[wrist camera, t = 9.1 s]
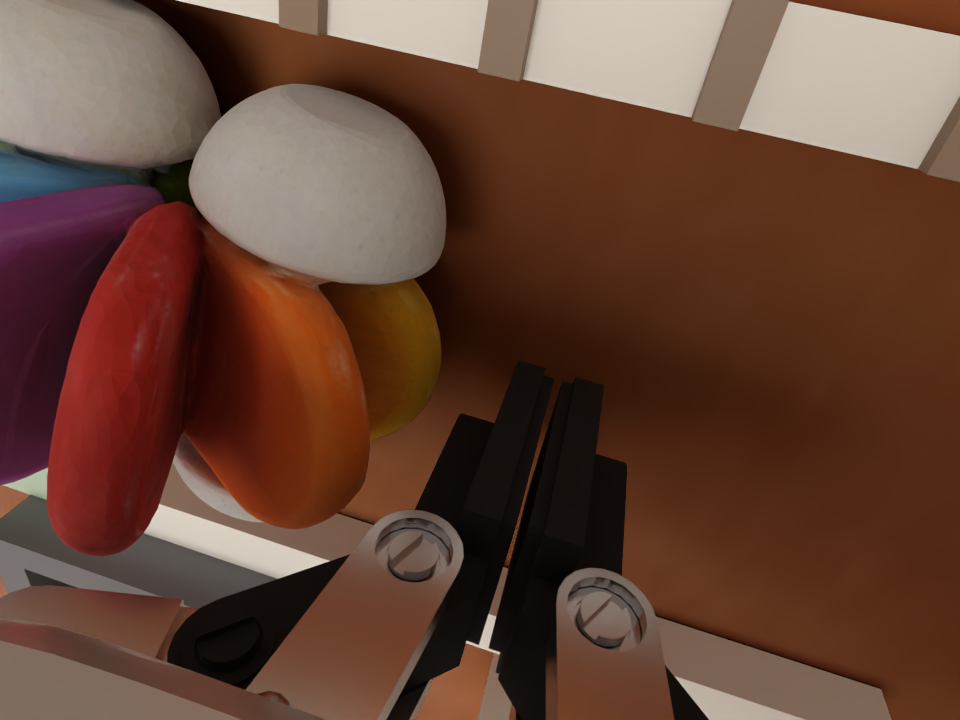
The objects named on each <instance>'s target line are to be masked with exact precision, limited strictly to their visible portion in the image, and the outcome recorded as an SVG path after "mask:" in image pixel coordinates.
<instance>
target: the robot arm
mask: <svg viewBox="0 0 960 720" xmlns="http://www.w3.org/2000/svg"><path fill="white" fill-rule="evenodd" d="M544 371H545V368H543V367H540V366H536V365H533V364H529V363H526V362H522V361H518V362H517V365H516V368H515V370H514V373H513V376H512V378H511V381H510V384H509V386H508V389H507V392H506V395H505V397H504V400H503V403H502V405H501V408H500V411H499V413H498V416H497V419H496V421H495V423H492V422H488V421H485V420H482V419H478V418H475V417H472V416H468V415H465V414H462V413H461V414H460V415H459V417H458V419H457V421H456V423H455V425H454V427H453V429H452V431H451V434H450V436H449V438H448V440H447V442H446V444H445V446H444V448H443V451H442V453H441V455H440V457H439V459H438V461H437V463H436V466H435V468H434V470H433V472H432V474H431V476H430V478H429V481H428V483H427V485H426V487H425V489H424V491H423V493H422V496H421V498H420V500H419V502H418V504H417V506H416V508H415V510H404V511H398V512H393V513H391V514H389V515H387V516H385V517H383V518H381V519H380V520H379V521H378V522H377V523H376V524H375V525H374V526H372V527H371V529H370V530H369V531H368V533H367V534H366V535H365V536H364V538H363V539H362V540H361V542H360V543H359V544H358V545H357V547H356V548H355V549H354V551H353V552H352V553H351V554H349V555H346V556H343V557H340V558H337V559H335V560H332V561H329V562H326V563H323V564H320V565H317V566H314V567H311V568H308V569H305V570H302V571H299V572H296V573H293V574H290V575H288V576H285V577H282V578H279V579H276V580H273V581H270V582H267V583H264V584H261V585H258V586H255V587H252V588H249V589H246V590H243V591H241V592H238V593H235V594H232V595H229V596H226V597H223V598H220V599H217V600H215V601H213V602H211V603H209V604H207V605H205V606H203V607H201V608H194V607H185V606H184V603H183V599H175V598H166V597H157V596H147V595H138V594H129V593H119V592H110V591H101V590H91V589H82V588H72V587H63V586H54V585H45V586H30V587H27V588H24V589H21V590H18V591H14V592H11V593H9V594H7V595H5V596H4V597H2V598H0V720H414V719H415V717H416V715H417V713H418V711H419V709H420V707H421V705H422V703H423V701H424V699H425V697H426V695H427V693H428V691H429V689H430V687H431V683H432V680H433V678H435V677H437V676H439V675H441V674H443V673H445V672H447V671H449V670H451V669H453V668H455V667H457V666H459V664H460V661H461V657H462V654H463V650H464V647H465V644H466V641H469V642H472V643H474V644H477V645H479V643H480V640H481V637H482V633H483V630H484V627H485V624H486V621H487V617H488V614H489V611H490V608H491V605H492V601H493V598H494V595H495V592H496V589H497V585H498V582H499V579H500V576H501V573H502V569H503V566H504V563H505V560H506V557H507V553H508V550H509V547H510V544H511V541H512V537H513V534H514V531H515V527H516V524H517V520H518V517H519V513H520V509H521V505H522V501H523V497H524V494H525V490H526V486H527V482H528V478H529V474H530V470H531V467H532V463H533V459H534V455H535V451H536V447H537V443H538V439H539V436H540V432H541V428H542V424H543V420H544V416H545V412H546V409H547V405H548V401H549V397H550V393H551V389H552V385H553V382H554V378H551V377H547V376H544ZM603 389H604V385H602V384H599V383H595V382H592V381H588V380H585V379H581V378H578V377H575V380H574V382H573V384H571V383H568V382H564V381H563V382H562V384H561V388H560V391H559V394H558V397H557V400H556V403H555V407H554V410H553V413H552V416H551V419H550V423H549V426H548V429H547V432H546V435H545V438H544V442H543V445H542V448H541V451H540V454H539V458H538V461H537V464H536V467H535V470H534V473H533V477H532V480H531V483H530V487H529V490H528V494H527V497H526V501H525V505H524V509H523V513H522V517H521V521H520V525H519V529H518V533H517V537H516V541H515V545H514V549H513V553H512V557H511V561H510V565H509V568H508V572H507V576H506V580H505V584H504V588H503V592H502V596H501V600H500V604H499V608H498V612H497V616H496V620H495V624H494V628H493V632H492V636H491V640H490V644H489V649H492V650H495V651H498V652H500V655H499V659H498V664H497V668H496V672H495V673H498V674H499V676H498V680H499V682H500V684H501V686H502V687H503V689H504V691H505V693H506V694H507V696H508V698H509V700H510V701H511V703H512V705H511V709H510V714H509V720H709V719H708V718H707V716H706V715H705V714H704V713H703V711H702V710H701V709H700V708H699V706H698V705H697V704H696V703H695V701H694V700H693V699H692V698H691V696H690V695H689V694H688V693H687V691H686V690H685V689H684V688H683V686H682V685H681V684H680V683H679V681H678V680H677V679H676V678H675V676H674V675H673V674H672V673H671V671H670V670H669V669H668V668H667V666H666V665H665V662H664V657H663V651H662V645H661V639H660V633H659V628H658V622H657V619H656V616H655V613H654V610H653V607H652V605H651V604H650V602H649V601H648V599H647V598H646V596H645V595H644V593H643V592H642V591H641V590H639V589H638V588H637V587H636V586H635V585H634V584H633V583H632V582H631V581H629V580H627V579H626V578H624V577H622V558H623V539H624V519H625V500H626V480H627V465H626V463H624V462H621V461H618V460H614V459H611V458H608V457H604V456H601V455H598V454H596V446H597V438H598V430H599V422H600V414H601V406H602V397H603Z"/></svg>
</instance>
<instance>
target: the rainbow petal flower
mask: <svg viewBox="0 0 960 720" xmlns="http://www.w3.org/2000/svg"><path fill="white" fill-rule="evenodd" d="M191 159H194V161H193V164H192V166H191V163H190V161H189V160H191ZM196 207H197V209H198V210H199V211H200V213H201V214H202V215H203V216H204V217H205V218H201V217H200V216H199V212H198V210H197V209H196ZM445 233H446V206H445V198H444V194H443V189H442V185H441V182H440V179H439V176H438V172H437V170H436V168H435V166H434V163H433V161H432V159H431V157H430V155H429V154H428V152H427V150H426V149H425V147H424V146H423V144H422V143H421V141H420V140H419V138H418V137H417V136H416V135H415V134H414V133H413V131H412V130H411V129H410V128H409V127H408V126H407V125H406V124H405V123H403V122H402V121H401V120H400V119H398V118H397V117H395V116H394V115H392V114H390V113H389V112H387V111H386V110H384V109H382V108H380V107H379V106H377V105H375V104H373V103H370V102H368V101H366V100H363V99H361V98H359V97H356V96H353V95H350V94H347V93H345V92H341V91H337V90H334V89H330V88H326V87H321V86H316V85H308V84H287V85H281V86H276V87H272V88H269V89H267V90H264V91H261V92H259V93H257V94H255V95H252V96H250V97H248V98H246V99H245V100H243V101H241V102H240V103H238V104H237V105H236V106H234V107H233V108H231V109H230V110H229V111H228V112H227V113H226V114H225V115H224V116H223V117H221V113H220V109H219V104H218V101H217V98H216V94H215V91H214V89H213V86H212V83H211V81H210V79H209V77H208V75H207V73H206V71H205V69H204V67H203V65H202V63H201V62H200V60H199V58H198V57H197V56H196V54H195V53H194V52H193V51H192V49H191V48H190V47H189V45H188V44H187V43H186V42H185V40H184V39H183V38H182V37H181V36H180V35H179V34H178V33H177V32H176V31H175V30H174V29H173V28H172V27H171V26H170V25H169V24H168V23H167V22H166V21H164V20H163V19H162V18H161V17H160V16H158V15H157V14H156V13H155V12H153V11H152V10H150V9H148V8H147V7H145V6H144V5H142V4H140V3H138V2H135V1H133V0H0V485H4V484H8V483H12V482H15V481H18V480H21V479H23V478H26V477H28V476H31V475H33V474H35V473H37V472H39V471H41V470H44V469H46V468H48V473H47V504H46V507H47V511H48V515H49V519H50V523H51V525H52V527H53V529H54V531H55V533H56V534H57V536H58V537H59V538H60V539H61V540H62V541H63V543H64V544H65V545H67V546H68V547H70V548H72V549H73V550H75V551H77V552H79V553H82V554H86V555H91V556H100V557H101V556H108V555H113V554H116V553H119V552H123V551H124V550H126V549H127V548H128V547H130V546H131V545H132V544H134V543H135V542H136V541H137V540H138V539H139V538H140V537H141V536H142V535H143V533H144V532H145V530H146V529H147V527H148V526H149V524H150V522H151V520H152V518H153V516H154V514H155V513H156V511H157V509H158V506H159V503H160V500H161V497H162V493H163V490H164V487H165V484H166V481H167V478H168V475H169V472H170V468H171V465H172V462H174V465H175V467H176V469H177V471H178V473H179V474H180V476H181V478H182V479H183V481H184V482H185V484H186V485H187V486H188V487H189V488H190V490H191V491H192V492H193V493H194V494H195V495H196V496H197V497H199V498H200V499H201V500H202V501H204V502H205V503H207V504H208V505H209V506H211V507H212V508H214V509H216V510H218V511H219V512H221V513H224V514H226V515H228V516H231V517H234V518H237V519H241V520H245V521H252V522H263V523H266V524H270V525H273V526H276V527H281V528H287V529H303V528H308V527H311V526H314V525H316V524H318V523H321V522H323V521H325V520H327V519H329V518H331V517H332V516H334V515H335V514H337V513H338V512H340V511H341V510H342V509H343V508H344V507H345V506H346V505H347V504H348V503H349V502H350V501H351V500H352V499H353V497H354V496H355V495H356V494H357V493H358V492H359V490H360V489H361V487H362V485H363V483H364V481H365V476H366V472H367V467H368V460H369V449H370V441H371V440H374V439H377V438H380V437H382V436H384V435H387V434H389V433H392V432H394V431H396V430H398V429H400V428H401V427H403V426H405V425H406V424H408V423H409V422H410V421H411V420H412V419H414V418H415V417H416V416H417V415H418V414H419V413H420V412H421V411H422V410H423V409H424V407H425V406H426V404H427V403H428V401H429V399H430V397H431V395H432V393H433V390H434V388H435V386H436V383H437V380H438V377H439V373H440V367H441V356H442V350H441V340H440V333H439V329H438V325H437V322H436V318H435V315H434V312H433V308H432V306H431V304H430V302H429V301H428V299H427V297H426V296H425V294H424V292H423V291H422V289H421V288H420V286H419V285H418V284H417V282H416V281H415V280H414V278H416V277H418V276H420V275H422V274H424V273H426V272H428V271H429V270H430V269H431V268H432V267H434V266H435V264H436V263H437V261H438V260H439V258H440V256H441V253H442V250H443V248H444V243H445Z"/></svg>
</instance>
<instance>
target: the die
mask: <svg viewBox="0 0 960 720" xmlns="http://www.w3.org/2000/svg"><path fill="white" fill-rule="evenodd" d="M498 659H499V654H496V653H494V654H493V658H492V662H491V666H490V670H489V674H488V679H487V683H486V687H485V691H484V695H483V699H482V704H481V708H480V712H479V716H478V720H509V714H510V709H511V705H512V703H511V701H510V700H509V698H508V696H507V694H506V693H505V691H504V689H503V687H502V686H501V684H500V682H499V680H498V676H499V674H498V673H495V672H496V668H497V664H498Z"/></svg>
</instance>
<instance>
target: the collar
mask: <svg viewBox="0 0 960 720" xmlns="http://www.w3.org/2000/svg"><path fill="white" fill-rule="evenodd" d="M46 504H47V500H45V499H42V498H39V497H36V496H33V495H30V496H29V497H27V498H26V499H25V500H23V501H22V502H21V503H20V504H18V505H17V506H16V507H15V508H13V509H12V510H11V511H10V512H8V513H7V514H6V515H5V516H3V517H2V518H1V519H0V576H1V578H2V580H3V583H4V585H5V587H6V589H7V592H8V594H9V593H11V592H14V591H18V590H21V589H24V588H27V587H30V586H45V585H54V586H63V587H72V588H82V589H91V590H101V591H110V592H119V593H129V594H138V595H147V596H157V597H166V598H175V599H183V603H184V606H185V607H194V608H201V607H203V606H205V605H207V604H209V603H211V602H213V601H215V600H217V599H220V598H223V597H226V596H229V595H232V594H235V593H238V592H241V591H243V590H246V589H249V588H252V587H255V586H258V585H261V584H264V583H267V582H270V581H273V580H276V579H277V578H274V577H271V576H268V575H265V574H262V573H259V572H256V571H253V570H250V569H247V568H244V567H241V566H238V565H236V564H233V563H230V562H227V561H224V560H221V559H218V558H215V557H212V556H209V555H206V554H203V553H200V552H197V551H194V550H192V549H189V548H186V547H183V546H180V545H177V544H174V543H171V542H168V541H165V540H162V539H159V538H156V537H153V536H151V535H148V534H145V533H143V535H142V536H141V537H140V538H139V539H138V540H137V541H136V542H135V543H134V544H132V545H131V546H130V547H128V548H127V549H126V550H124V551H123V552H119V553H116V554H113V555H108V556H101V557H100V556H91V555H86V554H82V553H79V552H77V551H75V550H73V549H72V548H70V547H68V546H67V545H65V544H64V543H63V541H62V540H61V539H60V538H59V537H58V536H57V534H56V533H55V531H54V529H53V527H52V525H51V523H50V519H49V515H48V511H47V507H46Z"/></svg>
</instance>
